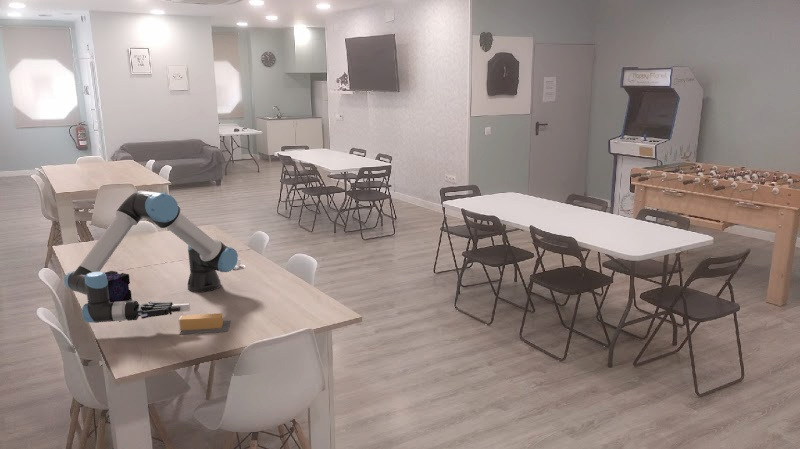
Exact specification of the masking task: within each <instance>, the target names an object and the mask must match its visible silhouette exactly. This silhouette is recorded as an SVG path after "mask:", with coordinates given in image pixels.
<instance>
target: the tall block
mask: <svg viewBox="0 0 800 449" xmlns="http://www.w3.org/2000/svg"><path fill="white" fill-rule="evenodd" d="M223 321H224V319H223V313H221V312H220V313H219V312H218V313H204V314H203V313H202V314H186V315H180V317H179V318H178V327H179V331H180V332H181V330H197V329H213V328H222V325H223Z"/></svg>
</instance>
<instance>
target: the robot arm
mask: <svg viewBox="0 0 800 449" xmlns="http://www.w3.org/2000/svg"><path fill="white" fill-rule="evenodd" d="M178 204H179V203H178V201H177V200H176V199H175V198H174V197H173V195H171V194H168V193H166V192H160V191H159V192H158V191H151V190H144V189H143V190H142V189H141V190H138V191H135V192H134V193H132V194H130V195H129V196H128V197H126V199H125V200H124V201H123V202H122V203H121V204H120V206H118V209H117V210H116V211H115V217H114V218H113V219H112V220H111V222H110V223H109V225H107V226H108V227H106V229H105V230H104V232H103V233H102V234H101V236H100V237H99V238H98V240H97V241H96V242H95V244H94V245H93V246H92V248H91V249H90V250H89V252H88V254H86V256H85V258H84V259H83V260H82V261H81V263H80V264H79V266H78V267H77V268H76V270H72V271H69V272H68V273H67V274H65V277H64V279H63V283H64V285H65V287H66V288H67V289H69V290H71V291H72V292H76V293H79V294H83V295H86V299H87V303H85V304H84V305H83V306H82V309H81V312H82V313H81V317H82V319H83V321H84V323H95V324H97V323H105V322H106V323H108V322H118V323H121V322H123V321H137V320H138V319H139V317H141V318H140V319H142V320H144V319H148V318H153V317H161V316H168V315H169V316H171V315H172V314H173V313H183V312H184V313H185V312H190V311H191V306H190V303H174V304H173V302H172V301H170V302H169V301H166V302H164V301H163V302H162V301H152V300H150V301H148V303H141V304H140V303H139V302H138V300H128V301H120V302H110V300H109V291H108V281H107V277H106V274H105V272H103V271H101V270H102V269H103V268H104V266H105V265H106V263H107V262H108V261H109V259H110V258H111V257H112V255H113V254H114V252H115V251H116V250H117V249H118V248H119V246H120V244H121V243H122V241H123V240H124V239H125V237H126V236H127V234H128V233H129V232H130V230H131V229H132V228H133V226H136V225H138V224H139V222H140V221H142V220H143V219H145V220H149V221H151V223H153V224H154V225H156V226H157V227H159V228H161V229H167V231H170V233H173V235H175V236H176V237H178V238H179V239H180V240H182V242H184V243H185V244H186V245H188V246H187V253H188V261H189V262H188V263H189V264H188V265H189V277H188V280H187V290H188V291H190V292H195V293H197V292H198V293H202V292H203V293H204V292H210V291H213V290H214V291H215V290H216V289H219V288H221V286H222V285H221V279H220V276H219V274H218V272H221V273H230V272H231V271H233V270H235V269H234V267H235V266H236V264H237V261H238V260H239V259H238V257H239V254H238V252H237V250H236V249H235V248H234V247H232V246H227V245H226V244H224V242H222V241H220V240H219V239H218V238H212V237H211V236H210V235H208V234H207V233H206V232H204V231H203V230H202V229H201V228H200V227H198V226H197V225H196V224H195V223H193V221H191V219H189V218H188V217H187V216H185V215H184V214H183V213H182V212H181V208H180V206H179V205H178Z"/></svg>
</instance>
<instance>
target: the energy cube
mask: <svg viewBox="0 0 800 449" xmlns="http://www.w3.org/2000/svg"><path fill="white" fill-rule="evenodd" d="M104 273H105V274H106V277H107V281H108V291H109V300H110V302H120V301H126V302H127V301H132V300H133V297H132V290H131V289H130V286H129V285H130V283H131V281H130V280H131V278H130V274H129V273H125V272H122V273H118V271H114V270H109V271H107V272H104Z"/></svg>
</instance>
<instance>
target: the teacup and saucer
mask: <svg viewBox="0 0 800 449" xmlns="http://www.w3.org/2000/svg"><path fill="white" fill-rule="evenodd" d="M241 266H243V267H241ZM246 267H247V266H246V265H244V264H242V261H241V259H238V261H237V264H236V266H235V267H234V269H233V270H242V269H245V268H246Z"/></svg>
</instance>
